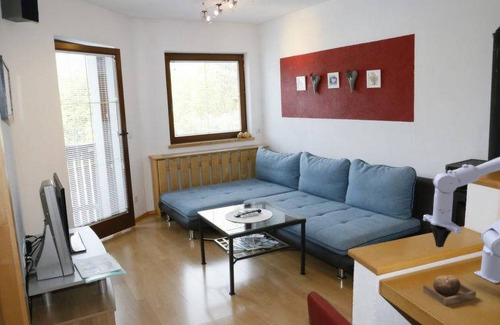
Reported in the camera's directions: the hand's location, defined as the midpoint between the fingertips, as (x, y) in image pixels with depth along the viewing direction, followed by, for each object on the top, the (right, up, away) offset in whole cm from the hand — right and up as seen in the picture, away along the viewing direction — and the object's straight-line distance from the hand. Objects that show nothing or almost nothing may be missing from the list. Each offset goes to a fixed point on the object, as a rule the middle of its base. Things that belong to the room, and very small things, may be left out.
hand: (439, 246), depth 136 cm
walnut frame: (-3, -13, -12) cm, 18 cm away
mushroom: (-4, -13, -11) cm, 17 cm away
